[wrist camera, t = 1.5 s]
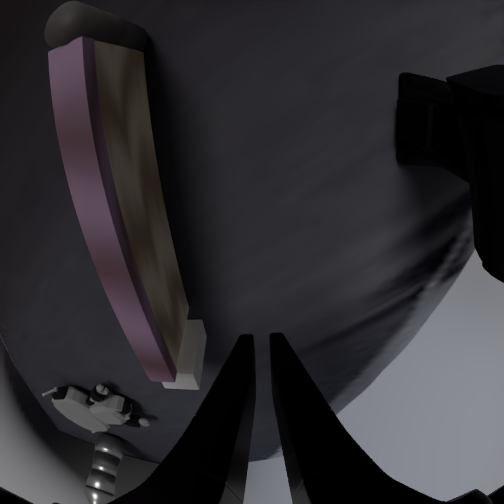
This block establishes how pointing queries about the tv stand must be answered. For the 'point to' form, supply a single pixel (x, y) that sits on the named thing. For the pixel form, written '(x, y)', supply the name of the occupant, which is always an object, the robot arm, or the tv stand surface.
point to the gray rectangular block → (190, 357)
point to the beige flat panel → (117, 176)
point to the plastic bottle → (104, 469)
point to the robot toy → (95, 408)
